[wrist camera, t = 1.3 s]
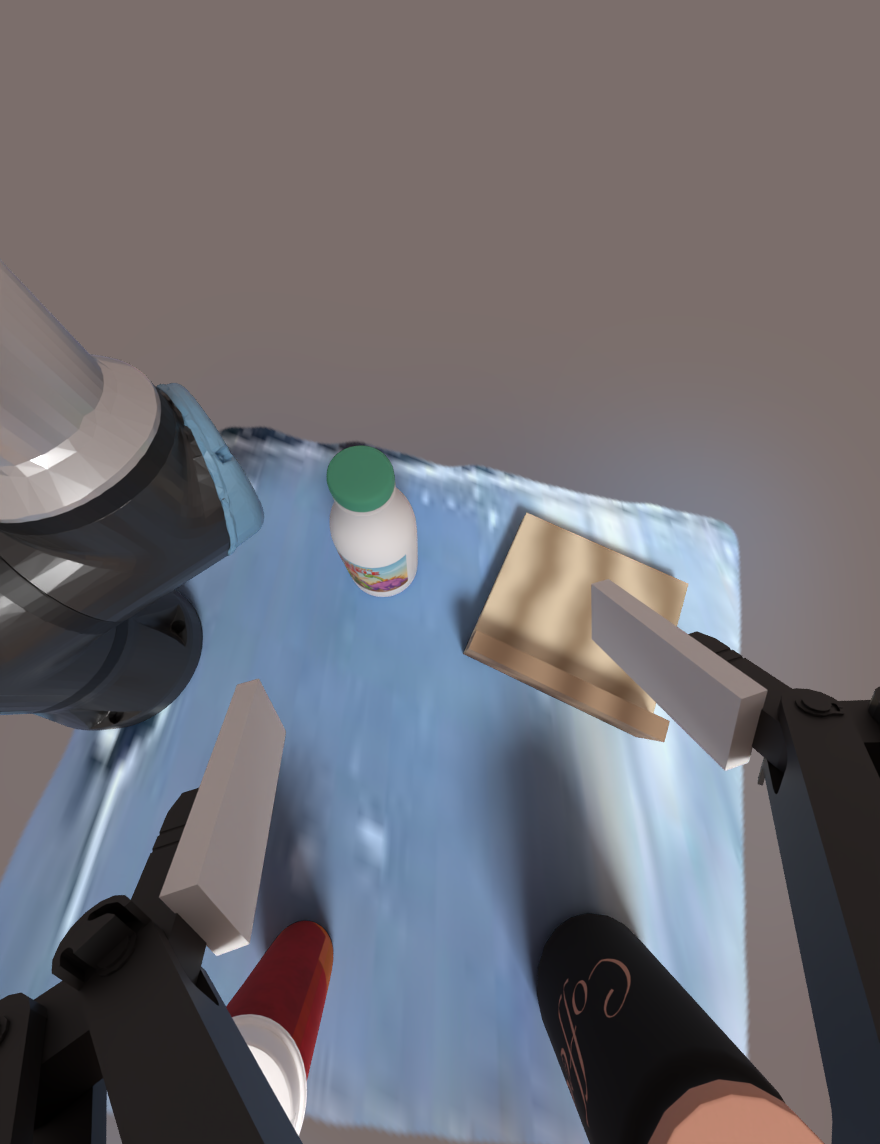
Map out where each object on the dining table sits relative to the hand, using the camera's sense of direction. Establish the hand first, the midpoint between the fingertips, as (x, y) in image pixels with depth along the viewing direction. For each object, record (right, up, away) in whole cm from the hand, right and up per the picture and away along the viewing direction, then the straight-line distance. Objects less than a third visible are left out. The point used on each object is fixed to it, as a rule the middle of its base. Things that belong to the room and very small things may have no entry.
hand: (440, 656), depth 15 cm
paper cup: (-12, -31, +19) cm, 38 cm away
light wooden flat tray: (+15, -2, +29) cm, 33 cm away
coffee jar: (+14, -33, +20) cm, 41 cm away
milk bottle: (-6, +4, +30) cm, 31 cm away
